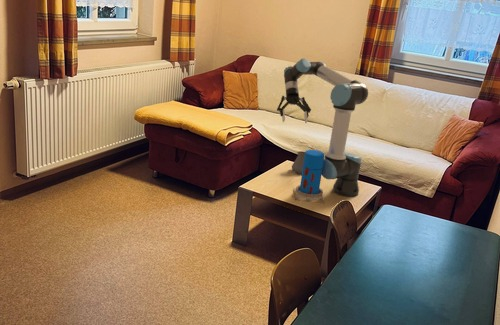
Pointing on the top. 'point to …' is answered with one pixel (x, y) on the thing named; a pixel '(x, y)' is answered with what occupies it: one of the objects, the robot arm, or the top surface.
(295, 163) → the coffee pot
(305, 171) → the thermos
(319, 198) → the thermos stand
